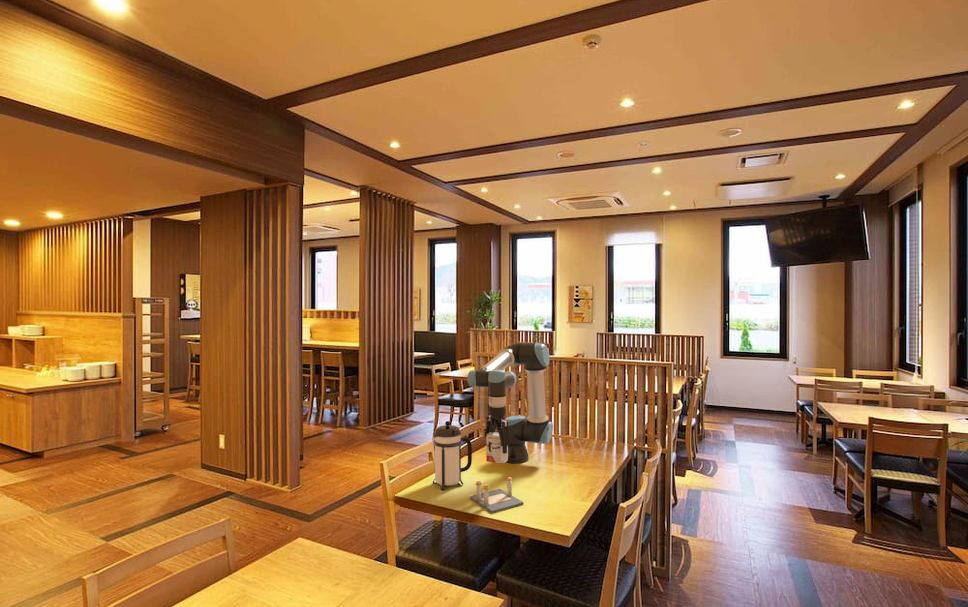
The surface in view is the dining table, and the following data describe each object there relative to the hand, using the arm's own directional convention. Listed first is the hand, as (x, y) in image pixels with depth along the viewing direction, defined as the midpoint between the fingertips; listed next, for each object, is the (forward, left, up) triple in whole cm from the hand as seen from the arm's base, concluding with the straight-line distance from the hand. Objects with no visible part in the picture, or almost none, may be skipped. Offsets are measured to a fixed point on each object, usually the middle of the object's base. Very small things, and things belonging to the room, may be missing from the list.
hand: (497, 457), depth 212 cm
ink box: (0, 0, -2) cm, 2 cm away
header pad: (+1, -1, -18) cm, 19 cm away
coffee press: (-28, -8, -19) cm, 34 cm away
